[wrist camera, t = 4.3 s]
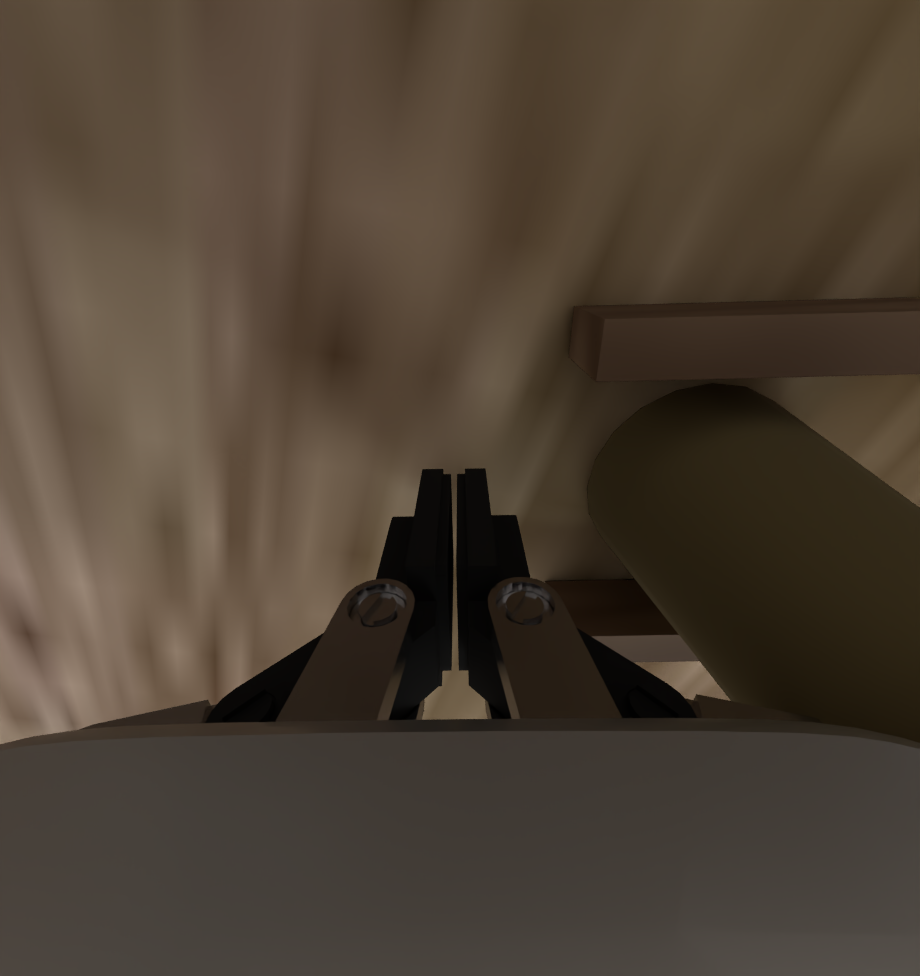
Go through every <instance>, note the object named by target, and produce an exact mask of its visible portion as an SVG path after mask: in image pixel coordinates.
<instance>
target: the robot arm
mask: <svg viewBox="0 0 920 976" xmlns="http://www.w3.org/2000/svg"><path fill="white" fill-rule="evenodd" d="M456 568H457V611H458V651H459V670H469V686H471V687H472V688H473V689H474V690H475V691H476V692H477V693H478V694H480V695H481V696H482V697H483V698H484V699H485V707H486V714H487V719H449V720H422V717H423V712H424V699H425V698H426V697H427V696H428V695H429V694H430V693H431V692H433V691H434V690H435V689H436V688H437V687H438V686H442V671H447V670H451V667H452V616H453V526H452V492H451V474H443V469H423V470H422V475H421V480H420V486H419V492H418V498H417V503H416V509H415V515H414V517H393V518H392V520H391V523H390V527H389V531H388V535H387V539H386V543H385V546H384V550H383V554H382V558H381V562H380V566H379V569H378V573H377V577H376V579H375V580H371V581H366V582H364V583H362V584H360V585H358V586H356V587H355V588H353V589H352V590H351V591H349V592H348V593H347V594H346V596H345V597H344V598H343V599H342V601H341V603H340V605H339V606H338V608H337V610H336V612H335V614H334V615H333V617H332V619H331V621H330V623H329V625H328V626H327V628H326V630H325V632H324V633H323V634H321V635H320V636H318V637H317V638H315V639H313V640H312V641H310V642H309V643H307V644H305V645H304V646H302V647H301V648H299V649H298V650H296V651H294V652H293V653H291V654H290V655H288V656H286V657H285V658H283V659H282V660H280V661H279V662H277V663H275V664H274V665H272V666H271V667H269V668H267V669H266V670H264V671H263V672H261V673H259V674H258V675H256V676H255V677H253V678H252V679H250V680H248V681H247V682H245V683H244V684H242V685H240V686H239V687H237V688H236V689H234V690H233V691H232V692H230V693H229V694H228V695H227V696H225V697H224V698H223V699H222V700H221V701H220V702H219V703H218V704H216V705H210V703H209V701H208V700H204V701H199V702H195V703H190V704H186V705H181V706H176V707H172V708H167V709H163V710H158V711H153V712H149V713H144V714H139V715H135V716H130V717H126V718H121V719H116V720H112V721H107V722H103V723H98V724H93V725H90V726H88V727H85V728H82V729H79V730H74V731H67V732H60V733H53V734H47V735H40V736H33V737H29V738H25V739H20V740H16V741H12V742H8V743H3V744H0V976H920V743H918V742H915V741H912V740H908V739H905V738H902V737H897V736H892V735H888V734H883V733H878V732H874V731H869V730H864V729H860V728H854V727H846V726H838V725H830V724H823V723H822V722H821V721H820V720H819V719H817V718H814V717H810V716H805V715H800V714H795V713H790V712H784V711H779V710H774V709H769V708H764V707H759V706H754V705H749V704H743V703H738V702H733V701H728V700H723V699H718V698H713V697H707V696H702V695H697V694H696V696H695V698H694V700H690V699H685V698H684V697H683V696H682V695H681V694H680V693H679V692H678V691H676V690H675V689H674V688H672V687H671V686H670V685H669V684H667V683H665V682H664V681H662V680H661V679H659V678H657V677H656V676H654V675H653V674H651V673H649V672H648V671H646V670H644V669H643V668H641V667H640V666H638V665H636V664H635V663H633V662H632V661H630V660H628V659H627V658H625V657H623V656H622V655H620V654H619V653H617V652H615V651H614V650H612V649H611V648H609V647H607V646H606V645H604V644H602V643H601V642H599V641H598V640H596V639H594V638H593V637H591V636H590V635H588V634H586V633H585V632H583V631H581V630H580V629H578V628H577V627H576V626H575V624H574V622H573V620H572V618H571V616H570V614H569V612H568V610H567V608H566V606H565V604H564V603H563V601H562V599H561V597H560V596H559V594H558V593H557V592H556V590H555V589H553V588H552V587H551V586H549V585H548V584H547V583H544V582H542V581H540V580H538V579H533V578H530V574H529V570H528V565H527V561H526V556H525V552H524V547H523V543H522V538H521V534H520V529H519V525H518V520H517V517H516V515H491V510H490V502H489V494H488V486H487V478H486V470H485V468H483V469H465V474H457V553H456Z"/></svg>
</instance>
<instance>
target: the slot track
mask: <svg viewBox="0 0 920 976" xmlns="http://www.w3.org/2000/svg"><path fill="white" fill-rule="evenodd" d="M569 358H570V359H571V360H572V361H574V362H575V363H576V364H577V365H578V366H579V367H580V368H581V369H582V370H584V371H585V372H586V373H587V374H588V375H589V376H590V377H591V378H592V379H593V380H595V381H596V382H611V381H652V380H693V379H734V378H776V377H817V376H858V375H899V374H920V297H911V298H873V299H834V300H796V301H758V302H719V303H681V304H642V305H604V306H574V312H573V321H572V331H571V340H570V350H569ZM545 583H547V584H548V585H549V586H551V587H552V588H553V589H555V590H556V592H557V593H558V594H559V596H560V597H561V599H562V601H563V603H564V604H565V606H566V608H567V610H568V612H569V614H570V616H571V618H572V620H573V622H574V624H575V626H576V627H577V628H578V629H580V630H581V631H583V632H585V633H586V634H588V635H590V636H591V637H593V638H594V639H596V640H598V641H599V642H601V643H602V644H604V645H606V646H607V647H609V648H611V649H612V650H614V651H615V652H617V653H619V654H620V655H622V656H623V657H625V658H627V659H628V660H630V661H632V662H676V661H699V659H698V658H697V657H696V656H695V654H694V653H693V652H692V651H691V649H690V648H689V647H688V646H687V644H686V643H685V642H684V641H683V639H682V638H681V637H680V635H679V634H678V633H677V632H676V630H675V629H674V628H673V627H672V625H671V624H670V623H669V622H668V620H667V619H666V618H665V616H664V615H663V614H662V613H661V611H660V610H659V609H658V608H657V606H656V605H655V604H654V603H653V601H652V600H651V599H650V598H649V596H648V595H647V594H646V592H645V591H644V590H643V589H642V587H641V586H640V585H639V584H638V582H637V581H636V580H586V581H545Z"/></svg>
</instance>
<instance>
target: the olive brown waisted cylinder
mask: <svg viewBox="0 0 920 976" xmlns="http://www.w3.org/2000/svg"><path fill="white" fill-rule="evenodd" d="M587 494H588V507H589V515H590V517H591V518H592V520H593V522H594V524H595V526H596V528H597V530H598V532H599V534H600V536H601V537H602V538H603V539H604V541H605V542H606V543H607V544H608V546H609V547H610V548H611V549H612V551H613V552H614V553H615V555H616V556H617V557H618V558H619V560H620V561H621V562H622V563H623V565H624V566H625V567H626V568H627V570H628V571H629V572H630V573H631V575H632V576H633V577H634V579H635V580H636V581H637V582H638V584H639V585H640V586H641V587H642V589H643V590H644V591H645V592H646V594H647V595H648V596H649V598H650V599H651V600H652V601H653V603H654V604H655V605H656V606H657V608H658V609H659V610H660V611H661V613H662V614H663V615H664V616H665V618H666V619H667V620H668V622H669V623H670V624H671V625H672V627H673V628H674V629H675V630H676V632H677V633H678V634H679V635H680V637H681V638H682V639H683V641H684V642H685V643H686V644H687V646H688V647H689V648H690V649H691V651H692V652H693V653H694V654H695V656H696V657H697V658H698V659H699V661H700V662H701V663H702V665H703V666H704V667H705V668H706V670H707V671H708V672H709V673H710V675H711V676H712V677H713V678H714V680H715V681H716V682H717V684H718V685H719V686H720V687H721V689H722V690H723V691H724V692H725V694H726V695H727V696H728V697H729V699H730V700H731V701H733V702H738V703H743V704H749V705H754V706H759V707H764V708H769V709H774V710H779V711H784V712H790V713H795V714H800V715H805V716H810V717H814V718H817V719H819V720H820V721H821V722H822V723H823V724H830V725H838V726H846V727H854V728H860V729H864V730H869V731H874V732H878V733H883V734H888V735H892V736H897V737H902V738H905V739H908V740H912V741H915V742H918V743H920V508H919V507H918V506H916V505H915V504H914V503H912V502H911V501H910V500H908V499H907V498H905V497H904V496H903V495H901V494H900V493H899V492H897V491H896V490H895V489H893V488H892V487H890V486H889V485H888V484H886V483H885V482H884V481H882V480H881V479H880V478H878V477H877V476H875V475H874V474H873V473H871V472H870V471H869V470H867V469H866V468H864V467H863V466H862V465H860V464H859V463H858V462H856V461H855V460H854V459H852V458H851V457H849V456H848V455H847V454H845V453H844V452H843V451H841V450H840V449H839V448H837V447H836V446H834V445H833V444H832V443H830V442H829V441H828V440H826V439H825V438H823V437H822V436H821V435H819V434H818V433H817V432H815V431H814V430H813V429H811V428H810V427H808V426H807V425H806V424H804V423H803V422H802V421H800V420H799V419H798V418H796V417H795V416H793V415H792V414H791V413H789V412H788V411H787V410H785V409H784V408H783V407H781V406H780V405H778V404H777V403H776V402H774V401H773V400H771V399H769V398H767V397H765V396H763V395H761V394H759V393H757V392H755V391H753V390H751V389H749V388H747V387H743V386H733V385H723V384H713V383H712V384H707V385H702V386H697V387H692V388H687V389H682V390H677V391H674V392H672V393H670V394H668V395H666V396H664V397H662V398H660V399H658V400H656V401H654V402H652V403H650V404H648V405H646V406H644V407H642V408H641V409H640V410H638V411H637V412H636V413H635V414H634V415H633V416H632V417H630V418H629V419H628V420H627V421H626V422H625V423H624V424H622V425H621V426H620V427H619V428H618V429H617V430H616V431H614V432H613V434H612V435H611V437H610V438H609V440H608V441H607V443H606V444H605V446H604V447H603V449H602V450H601V452H600V453H599V455H598V457H597V458H596V460H595V462H594V466H593V469H592V473H591V476H590V480H589V483H588V487H587Z"/></svg>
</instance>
